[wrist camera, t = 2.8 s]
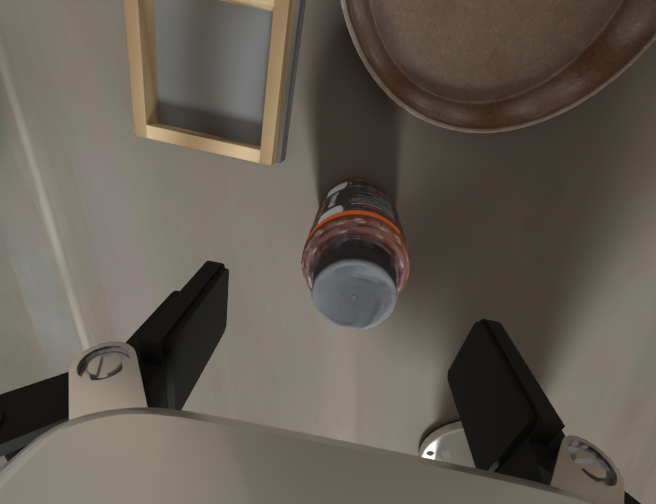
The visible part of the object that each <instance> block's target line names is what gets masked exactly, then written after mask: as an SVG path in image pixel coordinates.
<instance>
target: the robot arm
mask: <svg viewBox="0 0 656 504" xmlns="http://www.w3.org/2000/svg"><path fill="white" fill-rule="evenodd" d="M228 280H229V270H228V269H227V268H225V266H224V264H222V263H218V262H213V261H207V262H206V263H205V264H204V265H203V266H202V267H201V268H200V269H199V270H198V272H197V273H196V274H195V275H194V276H193V277H192V278H191V279H190V281H189V282H188V283H187V284H186V285H185V286H184V287H183V288H182V290H181V291H174V292H172V293H171V294H170V295H169V296H168V297H167V299H166V300H165V301H164V302H163V303H162V304H161V305H160V306H159V307H158V308H157V309H156V310H155V312H154V313H153V314H152V315H151V316H150V317H149V318H148V319H147V320H146V321H145V322H144V323H143V324H142V326H141V327H140V328H139V329H138V330H137V331H136V332H135V333H134V334H133V335H132V336H131V337H130V339H129V340H128V341H127V342H126V343H123V342H107V343H101V344H99V345H96V346H93V347H91V348H89V349H87V350H85V351H83V352H82V353H81V354H80V355H79V356H77V357H76V358H75V359H74V361H73V362H72V364H71V365H70V369H69V372H67V373H64V374H61V375H58V376H55V377H52V378H49V379H46V380H43V381H40V382H37V383H34V384H31V385H28V386H25V387H22V388H19V389H16V390H13V391H10V392H7V393H4V394H1V395H0V504H640V503H639V502H638V501H637V500H635V499H634V498H633V497H631V496H630V495H629V494H628V493H626V492H625V484H624V479H623V476H622V475H621V473H620V471H619V469H618V468H617V466H616V465H615V464H614V462H613V461H612V460H611V459H610V458H609V457H608V456H607V455H606V454H605V453H604V452H603V451H602V450H600V449H599V448H598V447H597V446H595V445H594V444H592V443H591V442H589V441H587V440H586V439H583V438H580V437H578V436H572V435H569V436H566V437H565V435H564V433H563V432H562V429H563V428H564V427H565V426H564V424H563V422H562V421H561V419H560V418H559V416H558V414H557V413H556V411H555V410H554V408H553V406H552V405H551V403H550V402H549V400H548V398H547V397H546V395H545V394H544V392H543V390H542V389H541V387H540V385H539V384H538V382H537V381H536V379H535V377H534V376H533V374H532V373H531V371H530V369H529V368H528V366H527V365H526V363H525V361H524V360H523V358H522V357H521V355H520V353H519V352H518V350H517V349H516V347H515V345H514V344H513V342H512V341H511V339H510V337H509V336H508V334H507V333H506V331H505V329H504V328H503V326H502V325H501V323H499V322H496V321H491V320H486V319H482V320H480V322H476V323H475V324H474V325H473V327H472V329H471V331H470V333H469V335H468V336H467V338H466V340H465V342H464V344H463V345H462V347H461V349H460V351H459V353H458V354H457V356H456V358H455V360H454V362H453V363H452V365H451V367H450V369H449V371H448V382H449V385H450V388H451V391H452V394H453V398H454V401H455V404H456V407H457V410H458V413H459V417H460V420H461V421H458V422H454V423H451V424H448V425H445V426H443V427H441V428H439V429H437V430H436V431H434V432H432V433H431V434H430V435H429V436H428V437H427V438H426V439H425V440H424V442H423V443H422V445H421V447H420V450H419V456H415V455H410V454H405V453H400V452H395V451H390V450H386V449H381V448H376V447H371V446H366V445H361V444H356V443H351V442H346V441H341V440H336V439H331V438H327V437H322V436H317V435H312V434H307V433H301V432H296V431H291V430H286V429H281V428H276V427H271V426H266V425H261V424H256V423H251V422H246V421H241V420H235V419H230V418H224V417H218V416H213V415H207V414H202V413H196V412H190V411H183V410H181V409H182V408H183V406H184V404H185V402H186V400H187V399H188V397H189V395H190V393H191V391H192V390H193V388H194V386H195V384H196V382H197V380H198V379H199V377H200V375H201V373H202V371H203V370H204V368H205V366H206V364H207V362H208V361H209V359H210V357H211V355H212V353H213V352H214V350H215V348H216V346H217V344H218V343H219V341H220V339H221V337H222V335H223V333H224V331H225V328H226V321H227V300H228Z"/></svg>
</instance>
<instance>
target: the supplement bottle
mask: <svg viewBox="0 0 656 504" xmlns="http://www.w3.org/2000/svg"><path fill="white" fill-rule="evenodd" d="M301 264H302V271H303V276H304V279H305V281H306V284H307V285H308V287H309V289H310V290H311V291H312V300H313V303H314V306H315V308H316V310H317V312H318V313H319V314H320V315H321V316H322V317H323V318H324V319H325V320H326V321H328V322H329V323H331V324H333V325H335V326H337V327H340V328H344V329H350V330H352V329H353V330H361V329H367V328H371V327H373V326H376V325H378V324H380V323H381V322H383V321H384V320H386V318H387V317H388V316H389V315H390V314H391V313H392V311H393V310H394V308H395V305H396V301H397V296H398V295H399V293H400V292H401V290H402V289H403V288H404V286H405V284H406V282H407V279H408V276H409V271H410V256H409V251H408V247H407V244H406V240H405V237H404V234H403V231H402V227H401V224H400V221H399V217H398V214H397V211H396V208H395V206H394V203H393V201H392V199H391V197H390V195H389V194H388V192H387V191H386V190H385V189H384V188H382V187H381V186H379V185H378V184H376V183H374V182H372V181H368V180H364V179H351V180H347V181H344V182H342V183H339V184H338V185H336V186H334V187H333V188H332V189H331V190H330V191H329V192H328V193H327V194H326V196H325V197H324V199H323V201H322V202H321V205H320V207H319V209H318V212H317V214H316V218H315V221H314V223H313V226H312V228H311V230H310V233H309V236H308V238H307V241H306V244H305V247H304V251H303V255H302V261H301Z"/></svg>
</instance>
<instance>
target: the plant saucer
mask: <svg viewBox="0 0 656 504" xmlns="http://www.w3.org/2000/svg"><path fill="white" fill-rule="evenodd" d="M340 1H341V6H342V10H343V14H344V18H345V21H346V25H347V27H348V30H349V33H350V36H351V38H352V41H353V43H354V46H355V48H356V50H357V52H358V54H359V56H360V58H361V60H362V62H363V63H364V65H365V67H366V68H367V70H368V71H369V73H370V75H371V76H372V77H373V79H374V80H375V81H376V83H377V84H378V85H379V86H380V87H381V89H382V90H383V91H384V92H385V93H386V94H387V95H388V96H389V97H390V98H391V99H392V100H393V101H395V102H396V103H397V104H398V105H399V106H401V107H402V108H404V109H405V110H406V111H408V112H409V113H411V114H413V115H414V116H416V117H418V118H420V119H422V120H424V121H426V122H429V123H431V124H434V125H436V126H439V127H442V128H446V129H450V130H455V131H461V132H469V133H495V132H504V131H510V130H515V129H520V128H524V127H528V126H531V125H534V124H537V123H540V122H543V121H545V120H548V119H550V118H553V117H555V116H557V115H560V114H562V113H564V112H566V111H568V110H570V109H572V108H573V107H575V106H577V105H579V104H581V103H582V102H584V101H585V100H587V99H588V98H590V97H591V96H593V95H594V94H596V93H598V92H599V91H600V90H602V89H603V88H604V87H606V86H607V85H608V84H610V83H611V82H612V81H613V80H615V79H616V78H617V77H619V76H620V75H621V74H622V73H623V72H624V71H625V70H626V69H627V68H628V67H629V66H631V65H632V64H633V63H634V62H635V61H636V60H637V59H638V58H639V57H640V56H641V55H642V54H643V53H644V52H645V51H646V50H647V49H648V47H649V46H650V45H651V44H652V43H653V42H654V41H655V39H656V0H340Z"/></svg>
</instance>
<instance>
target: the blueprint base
mask: <svg viewBox="0 0 656 504" xmlns="http://www.w3.org/2000/svg"><path fill="white" fill-rule="evenodd" d="M305 1H306V0H124V10H125V22H126V34H127V45H128V57H129V69H130V81H131V92H132V104H133V116H134V128H135V135H136V136H141V137H145V138H150V139H154V140H159V141H163V142H168V143H172V144H177V145H181V146H186V147H190V148H195V149H199V150H204V151H208V152H213V153H217V154H222V155H226V156H231V157H235V158H239V159H244V160H248V161H253V162H257V163H262V164H266V165H273V164H274V163H275V162H278V163H281V162H282V161H284V160H285V155H286V147H287V140H288V132H289V124H290V117H291V109H292V101H293V94H294V86H295V78H296V71H297V63H298V55H299V48H300V40H301V32H302V25H303V17H304V9H305Z"/></svg>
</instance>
